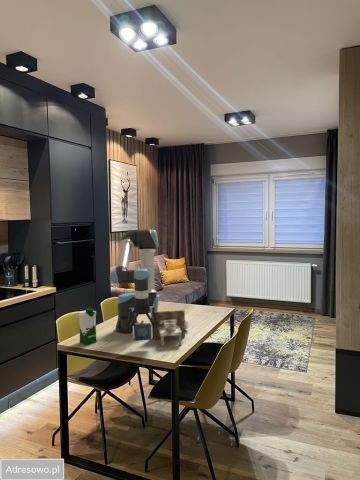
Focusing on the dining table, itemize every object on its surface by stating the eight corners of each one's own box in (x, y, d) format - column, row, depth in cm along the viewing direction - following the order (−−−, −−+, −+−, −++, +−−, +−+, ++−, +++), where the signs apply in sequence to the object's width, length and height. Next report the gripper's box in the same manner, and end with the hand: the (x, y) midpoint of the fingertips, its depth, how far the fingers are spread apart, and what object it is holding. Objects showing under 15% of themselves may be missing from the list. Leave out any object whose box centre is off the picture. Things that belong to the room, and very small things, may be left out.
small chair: (153, 347, 203) (153, 319, 202) (151, 338, 219) (150, 311, 218) (189, 344, 206) (188, 316, 205) (184, 336, 222) (184, 310, 221)
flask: (151, 338, 203) (150, 319, 202) (151, 340, 200) (150, 321, 199) (134, 339, 202) (133, 320, 201) (134, 341, 199) (133, 321, 198)
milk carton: (86, 345, 208) (85, 311, 207) (77, 342, 214) (75, 308, 212) (99, 341, 215) (97, 307, 213) (89, 338, 220) (88, 305, 219)
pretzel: (191, 328, 237) (190, 314, 236) (186, 334, 225) (186, 320, 225) (174, 327, 240) (174, 314, 239) (168, 333, 228) (168, 319, 228)
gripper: (121, 300, 194) (122, 341, 196) (162, 297, 197) (163, 338, 199) (121, 296, 201) (122, 336, 203) (160, 294, 205) (161, 333, 207)
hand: (142, 337), depth 201 cm, fingers closed on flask, 9 cm apart
